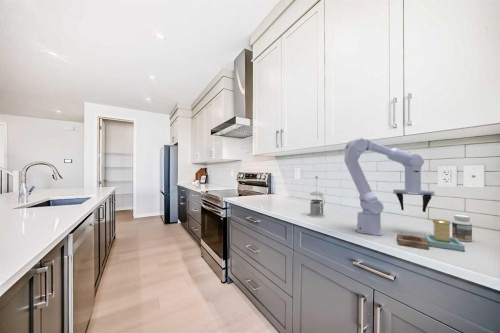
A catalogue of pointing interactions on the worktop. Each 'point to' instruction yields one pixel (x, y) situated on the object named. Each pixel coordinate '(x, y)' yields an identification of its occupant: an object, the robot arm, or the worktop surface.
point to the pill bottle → (462, 228)
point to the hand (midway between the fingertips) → (413, 210)
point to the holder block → (412, 241)
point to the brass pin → (441, 230)
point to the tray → (453, 244)
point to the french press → (316, 205)
